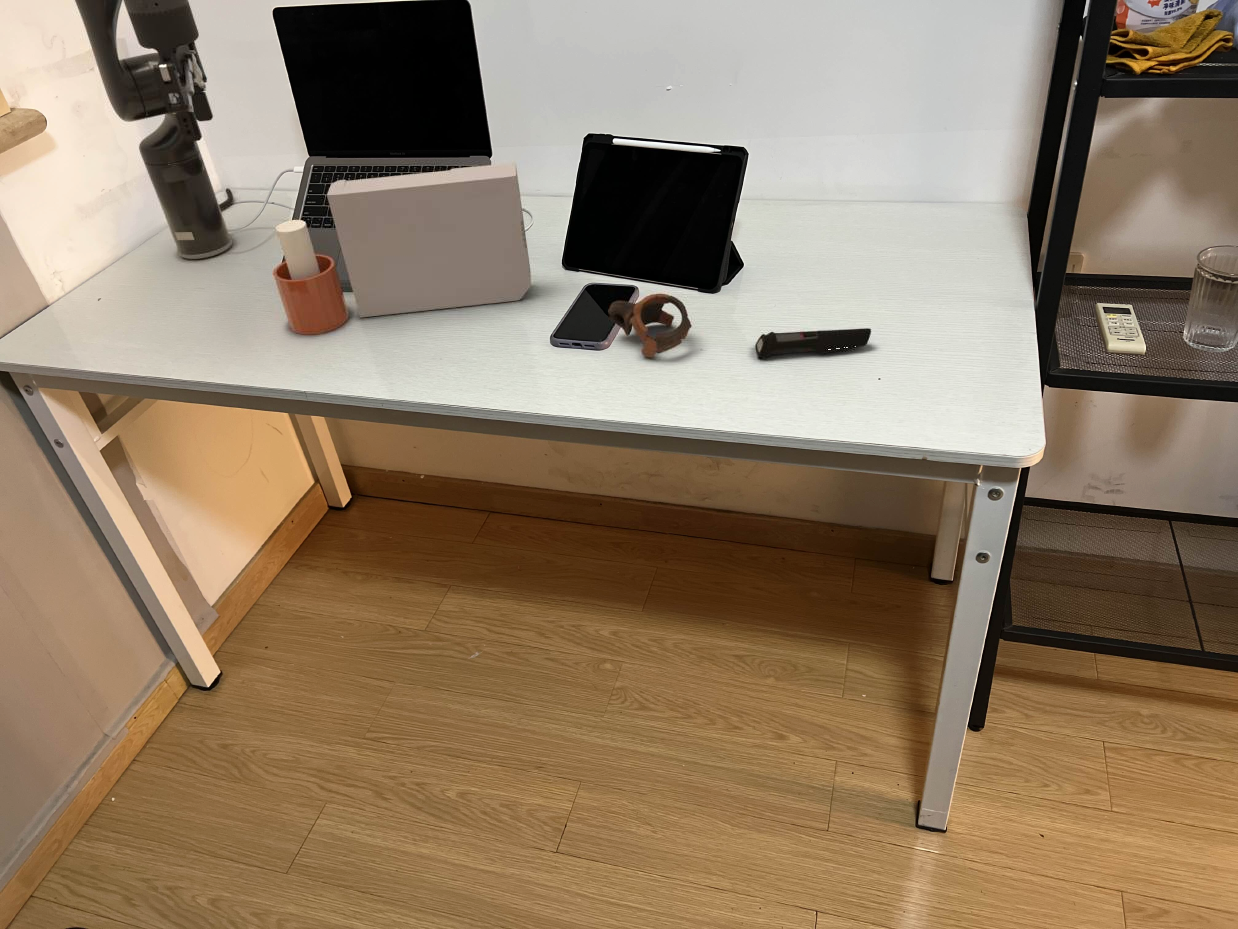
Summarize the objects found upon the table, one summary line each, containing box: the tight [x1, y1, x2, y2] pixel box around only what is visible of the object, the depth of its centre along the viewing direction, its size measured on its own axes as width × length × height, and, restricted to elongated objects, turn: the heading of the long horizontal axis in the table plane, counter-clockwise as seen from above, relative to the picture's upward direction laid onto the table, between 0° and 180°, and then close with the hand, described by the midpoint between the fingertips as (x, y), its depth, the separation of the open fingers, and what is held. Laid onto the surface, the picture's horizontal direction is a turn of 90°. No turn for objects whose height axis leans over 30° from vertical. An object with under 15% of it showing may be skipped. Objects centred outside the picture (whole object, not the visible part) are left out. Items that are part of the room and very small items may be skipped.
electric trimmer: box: [754, 327, 872, 360], centre depth 127 cm, size 4×16×3 cm, turn 91°
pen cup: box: [272, 253, 350, 336], centre depth 141 cm, size 9×9×9 cm
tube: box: [275, 219, 320, 280], centre depth 139 cm, size 4×4×15 cm
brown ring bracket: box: [607, 293, 693, 359], centre depth 131 cm, size 12×10×8 cm
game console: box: [326, 161, 532, 318], centre depth 141 cm, size 6×27×20 cm, turn 96°
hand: (200, 129), depth 129 cm, fingers open, 8 cm apart
